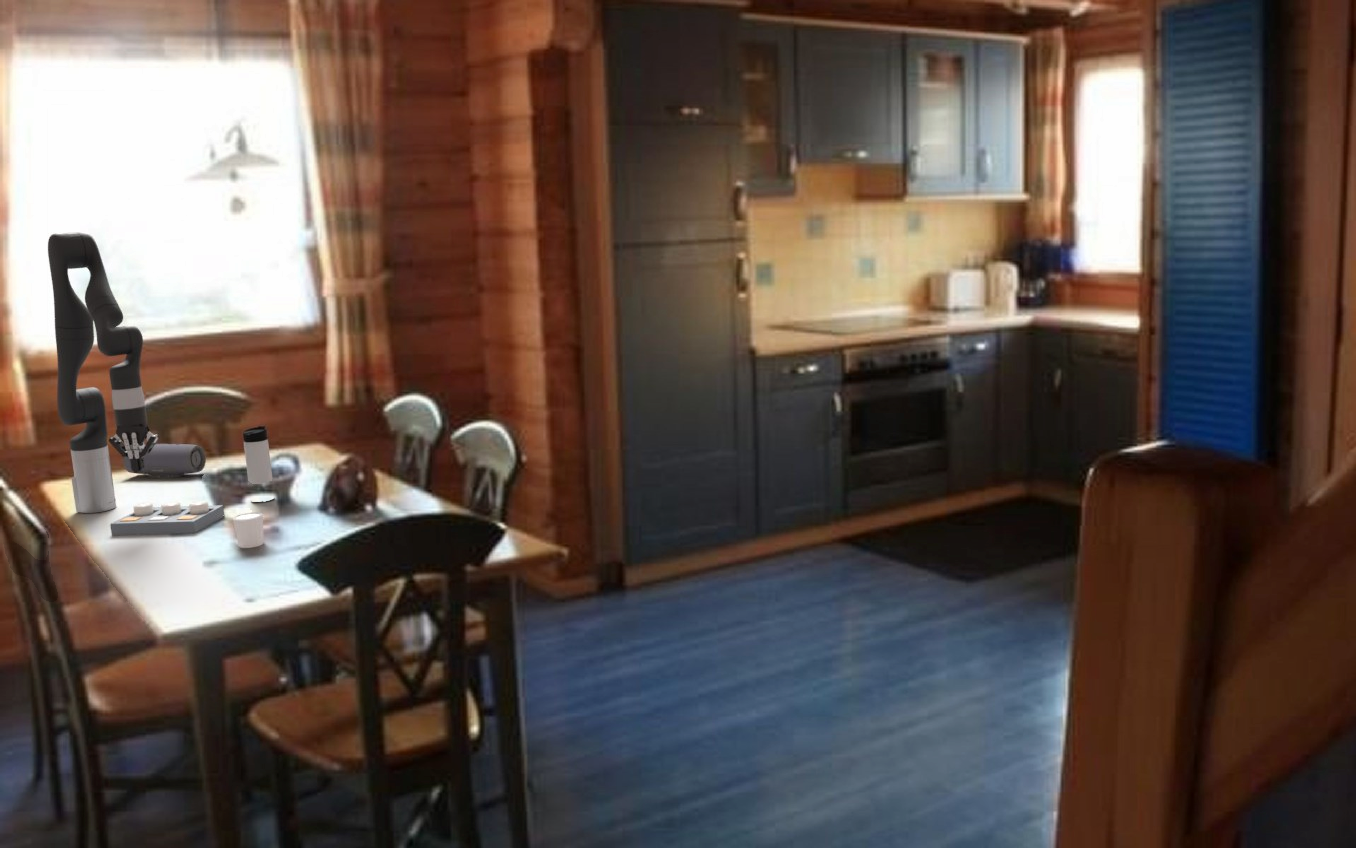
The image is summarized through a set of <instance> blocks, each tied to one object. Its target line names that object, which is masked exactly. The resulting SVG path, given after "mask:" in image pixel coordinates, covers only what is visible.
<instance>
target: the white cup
mask: <svg viewBox="0 0 1356 848" xmlns="http://www.w3.org/2000/svg"><path fill="white" fill-rule="evenodd" d="M232 523H233V527H234V531H235V535H236V541H237V545H238V547H239V548H241V549H249V548H257V547H261V546H262V545H264V514H263V513H262V512H248V513H243V514H238V515H235V516H233V517H232Z"/></svg>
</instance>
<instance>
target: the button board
mask: <svg viewBox="0 0 1356 848" xmlns="http://www.w3.org/2000/svg"><path fill="white" fill-rule="evenodd" d="M208 507H209V512H207V513H206V514H190V510H189V505H188V506H181V513H179V514H177V515H162V510H161V506H158V507H157V506H155V507H154V506H153V511H154V513H153V514H151V515H149V516H134V511H133V512H132V513H129V514H127V515H125V516H123V517H121V518H118V519H117V520H116V521H113V522H111V523H110V524H109V526H110V532H111V536H136V535H135V534H144V535H171V534H172V535H173V534H175V535H177V534H196V533H198V532H200V531H201V530H203V529H205V528H207V527H208V526H210V525H212V524H214V523H216V522H217V521H220V520H221V519H223V518H224V517H223V515H224V516H225V510H224V505H223V504H221V505H219V504H218V505H217V504H215V505H208Z"/></svg>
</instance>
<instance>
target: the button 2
mask: <svg viewBox="0 0 1356 848" xmlns="http://www.w3.org/2000/svg"><path fill="white" fill-rule="evenodd" d="M188 506H189V510H190V514H206V513H207V512H209V507H208V506H209V502H207V501H196V502H192V503H189V504H188Z"/></svg>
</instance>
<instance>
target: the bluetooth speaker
mask: <svg viewBox="0 0 1356 848" xmlns="http://www.w3.org/2000/svg"><path fill="white" fill-rule="evenodd" d="M145 445H146V444H144V447H145ZM122 462H123V467H124V469H125V470H126V472H128V473H131V474H138V475H139V474H140V475H149V477H150V478H179V477H180V478H181V477H183V476H184V475H186V474H187V475H188V474H197V473H200V472H202V471H203V469H204V468H205V466H206V462H207V457H206V453H205V450H204V448H203V447H202V446H201V445H197V444H187V443H186V444H183V443H156V444H155V445H154V447H153V449H152V451H151V452H150V454H148V455H145V456H144V466H145V468H144V470H143V472H141V473H134V471H132V469H131V462H130V459H129V458H128V457H123V460H122Z"/></svg>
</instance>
